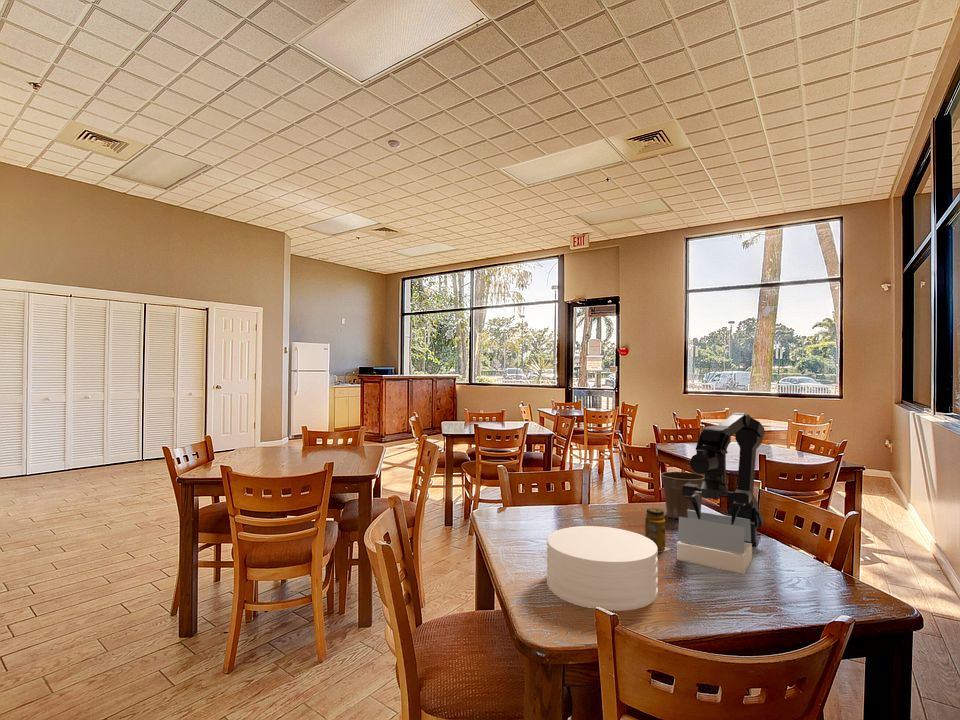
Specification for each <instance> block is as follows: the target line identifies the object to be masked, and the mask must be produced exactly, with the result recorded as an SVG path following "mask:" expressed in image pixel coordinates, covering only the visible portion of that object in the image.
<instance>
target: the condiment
mask: <svg viewBox="0 0 960 720" xmlns="http://www.w3.org/2000/svg"><path fill="white" fill-rule="evenodd" d="M645 516H646V517H645V519H644V520H645V523H644V525H645V526H644V528H645V529H644V531H645V532H644V533H645V534H644V536H645V537H647V538H649V539H650V540H652V541H653V542H654V543H655V544H656V545H657V548H658V553H661V552H666V551H669V550H671V549H672V548H670V547H667V546H666V520H665V511H664V510H662V509H660V508H655V507H652V508H647V509H646V515H645Z"/></svg>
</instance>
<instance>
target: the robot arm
mask: <svg viewBox="0 0 960 720" xmlns="http://www.w3.org/2000/svg"><path fill="white" fill-rule="evenodd" d="M764 427H765V426H763V424H762V423H761V422H760V421H759V420H757V419H756V418H753V417H751V416H750V415H749V414H748V413H745V412H733V413H731V414H730V416H728V417H727V418H726V419H725V420H723V421H722V422H720V423H719V424H717V425H709V426H705V427H704V428H703V429H702V430H701V432H700V435H699V436H698V440H697V443H696V446H695V451H696V454H694V455H692V456H691V458H690V460H689V466H690V468H691V470H692V471H693V473H696V474H701V475H703V474H704V475H703V476H704V481H703V483H702V486H701V488H699V486H698V484H690V483H686V484H685V485H683V486H682V487H681V495H686V498H688V499H690V501H691V502H692V504H693V506H694V508H695V511H696V514H697V517H698V519H699V520H700V519H701V512H702V506H701V507H700V494H702V499H710V500H714V501H715V500H716V501H718V500H720V499H721V498H728V499H729V505H728V516H732V518H731V524H732V525H733V524H734V522H735V519H736V517H738V518H745V519H750V530H751V542H748V541H744V542H746V543H751V544H752V547H757V546H758V544H759V543H760V540H759V539H757V528H763V524H764V518H763V515H762V514H761V511H760V509H759V502H758V500H757V498H756V497H755V495H754V490H755V489H754V488H755V487H754V485H755V471H756V458H757V456H756V455H757V449H758V448H759V447H760V446H761V445H762V443H763V438H764V437H765V431H766V430H765V428H764ZM732 436H734V440H735V441H736V443H737V445H738V446H739V459H738V471H737V472H738V473H737V487H736V488H737V489H736V490H734V491H729V487H728V484H727V466H726V465H727V462H726V456H727V454H728V447H729V445H730V444H731V442H732Z"/></svg>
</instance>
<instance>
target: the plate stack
mask: <svg viewBox="0 0 960 720" xmlns="http://www.w3.org/2000/svg"><path fill="white" fill-rule="evenodd" d="M546 546H547V548H546V556H547V557H546V575H547V576H546V585H548V586H547V588H548V587H549V588H548V590H549V591H550V590H551V591H552V592H553V593H554V594H553V593H552V592H551V591H550V592H551V593H552V594H553V595H554V596H556V595H557V596H556V597H558V598H559V597H560V598H559V599H561V600H563V601H566V602H567V603H570V604H572V603H573V604H572V605H575V606H580V607H583V608H586V607H587V609H591V608H593V609H594V607H595V606H601V607H604V608H606V609H608V610H607V611H609V610H610V611H613V610H614V612H615V611H618V612H621V611H632V610H639V609H641V608H644V607H647V606H650V605H651V604H653V603H655V601H656V599H657V598H658V595H659V594H658V593H659V592H658V590H659V589H658V583H659V582H658V580H659V579H658V573H659V571H658V561H659V560H658V553H659V552H658V548H657V545H656V544H655V543H654V542H653V541H652V540H650V539H649V538H647V537H645V535H643V534H639V533H636V532H635V531H634V532H633V531H630V530H628V529H621V528H615V527H608V526H597V525H596V526H594V525H579V526H571V527H569V526H568V527H565V528H561V529H557V530H555V531H553V532H551V533H550V534H548V536H547V538H546ZM593 609H592V610H593ZM594 610H595V609H594ZM610 611H609V612H610Z"/></svg>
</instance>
